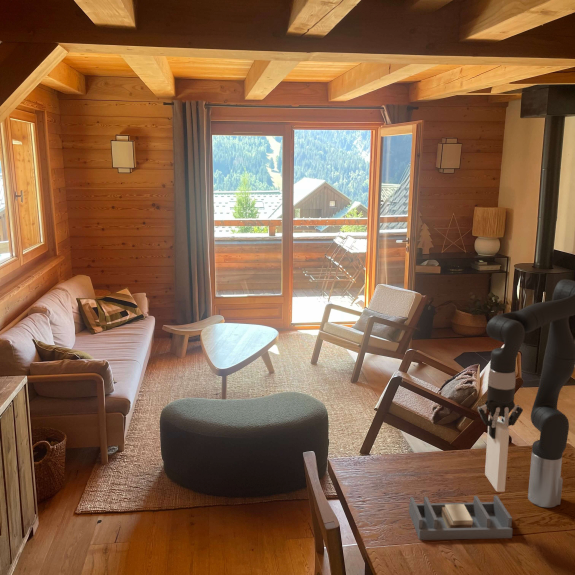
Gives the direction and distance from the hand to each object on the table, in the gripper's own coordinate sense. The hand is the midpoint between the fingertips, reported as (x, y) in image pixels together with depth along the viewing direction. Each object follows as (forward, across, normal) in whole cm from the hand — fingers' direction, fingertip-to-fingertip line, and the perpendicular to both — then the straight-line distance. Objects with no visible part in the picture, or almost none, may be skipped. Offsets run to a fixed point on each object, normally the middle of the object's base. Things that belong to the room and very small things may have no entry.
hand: (497, 437), depth 174 cm
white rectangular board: (+15, 0, 0) cm, 15 cm away
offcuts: (+29, +11, 0) cm, 31 cm away
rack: (+30, +10, 0) cm, 32 cm away
